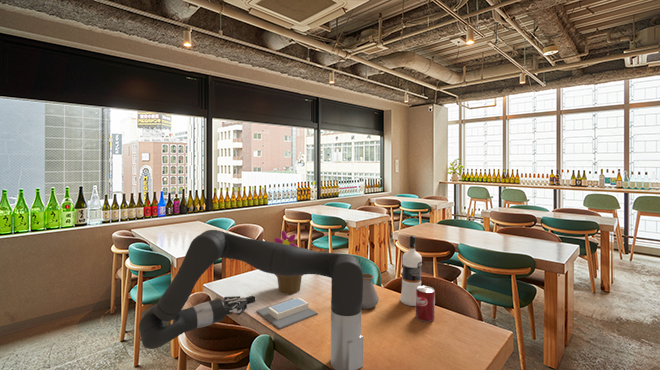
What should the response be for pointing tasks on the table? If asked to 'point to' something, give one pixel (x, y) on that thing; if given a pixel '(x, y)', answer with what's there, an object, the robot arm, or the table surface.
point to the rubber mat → (289, 319)
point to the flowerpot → (288, 282)
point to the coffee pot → (369, 292)
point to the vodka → (411, 274)
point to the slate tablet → (288, 308)
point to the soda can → (425, 303)
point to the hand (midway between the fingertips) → (254, 298)
